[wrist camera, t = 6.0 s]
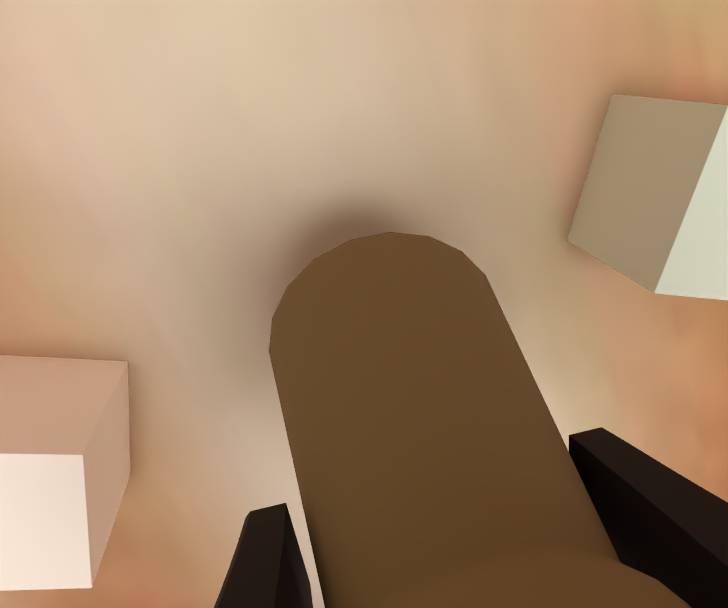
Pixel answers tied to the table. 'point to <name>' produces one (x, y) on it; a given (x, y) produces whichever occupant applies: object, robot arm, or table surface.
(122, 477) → the off-white block
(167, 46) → the table surface
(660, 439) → the table surface
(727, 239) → the sage-green block
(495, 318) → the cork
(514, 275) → the table surface
